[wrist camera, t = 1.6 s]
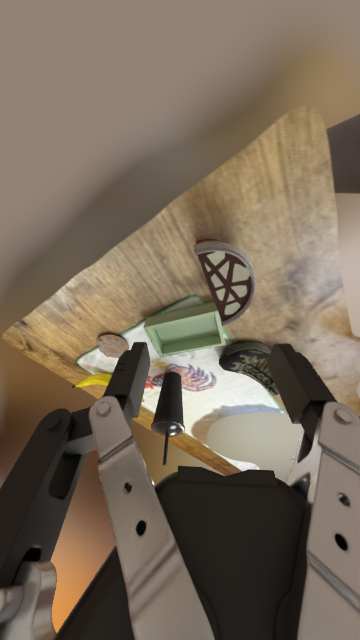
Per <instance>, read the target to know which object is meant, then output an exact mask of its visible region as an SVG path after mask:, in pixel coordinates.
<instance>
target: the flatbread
mask: <svg viewBox="0 0 360 640" xmlns="http://www.w3.org/2000/svg"><path fill="white" fill-rule="evenodd" d="M98 348H99V349H100V351H101V352H102V353H104V354H105V355H106V356H107V357H115V358H120V356H121V355H122V354H123V353H124V352H125V351H126V350H128V349H129V347H128V344H127V342H126V341H125V340H124V339H122V338H121V337H118V336H116V335H111V334H107V335H102V336H100V337H99V339H98Z"/></svg>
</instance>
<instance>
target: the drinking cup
mask: <svg viewBox="0 0 360 640" xmlns="http://www.w3.org/2000/svg"><path fill="white" fill-rule="evenodd" d="M151 429H152V431H154V432H155V433H157V434H159V435H161V436H164V437H165V447H164V457H163V465H166V460H167V450H168V438H169V437H174V436H177V435H180V434H182V433H183V432H184V430H185V426H184V425H183V407H182V388H181V376H180V375H179V374H178V373H175V372H169V373H167V374H165V376H164V380H163V384H162V388H161V392H160V396H159V400H158V404H157V408H156V412H155V416H154V420H153V423H152V424H151Z"/></svg>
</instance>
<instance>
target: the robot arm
mask: <svg viewBox="0 0 360 640" xmlns="http://www.w3.org/2000/svg"><path fill="white" fill-rule="evenodd" d="M149 367H150V357H149V352H148V347H147V343H146V342H134V343H133V346H132V348H131V350H126V351H125V352H124V353H123V354H122V355H121V356H120V358H119V360H118V362H117V365H116V367H115V369H114V372H113V374H112V376H111V379H110V381H109V383H108V386H107V388H106V390H105V393H104V395H103V396H102V398H100V399H98V400H97V401H96V402H95V403H94V404H93V405H92V406H91V407H89V408H86V409H82V410H79V411H76V412H72V413H70V412H69V411H68V410H67V409H57V410H54V411H52V412H50V413H49V414H48V415H46V416H45V417H44V418H43V419H42V420H41V422H40V423H39V425H38V426H37V428H36V430H35V431H34V433H33V435H32V436H31V438H30V440H29V441H28V443H27V445H26V446H25V448H24V450H23V451H22V453H21V455H20V456H19V458H18V460H17V461H16V463H15V465H14V466H13V469H12V470H11V472H10V473H9V475H8V477H7V478H6V480H5V482H4V483H3V485H2V487H1V489H0V640H360V417H359V416H358V415H357V414H356V413H355V412H354V411H353V410H352V409H350V408H349V407H347V406H345V405H343V404H341V403H338V402H337V401H336V399H335V398H334V397H333V395H332V394H331V392H330V391H329V389H328V388H327V387H326V385H325V384H324V382H323V381H322V379H321V378H320V377H319V375H317V372H316V371H315V369H313V366H312V365H311V364H310V362H309V361H308V359H307V358H305V357H304V356H303V355H302V354H300V353H299V352H295V350H294V349H293V347H292V346H291V345H290V344H275V345H274V346H273V349H272V351H271V354H270V356H269V359H268V369H269V371H270V374H271V376H272V378H273V381H274V383H275V385H276V387H277V390H278V392H279V394H280V396H281V399H282V401H283V403H284V405H285V408H286V410H287V412H288V414H289V417H290V419H291V421H292V423H293V424H301V425H302V427H303V430H302V432H301V436H300V440H299V444H298V448H297V452H296V456H295V460H294V463H293V466H292V468H291V470H290V472H289V474H288V476H287V479H286V482H283V481H281V480H279V479H277V478H275V474H274V471H270V470H250V469H249V470H246V471H243V472H240V473H236V474H233V475H230V476H223V475H220V474H218V473H215V472H212V471H210V470H207V469H205V468H202V467H188V466H178V472H175V473H172V474H170V475H168V476H167V477H165V478H164V479H162V480H161V481H160V482H159V483H158V484H157V485H156V486H155V485H154V482H153V480H152V478H151V475H150V473H149V470H148V468H147V466H146V463H145V461H144V459H143V457H142V454H141V452H140V449H139V447H138V445H137V442H136V440H135V438H134V435H133V433H132V431H131V428H130V423H131V419H132V417H133V418H138V415H139V410H140V406H141V402H142V397H143V393H144V389H145V384H146V380H147V376H148V371H149ZM95 449H97V452H98V456H99V462H98V470H99V475H100V479H101V484H102V488H103V492H104V496H105V500H106V504H107V509H108V513H109V517H110V521H111V526H112V530H113V534H114V538H115V542H116V545H115V547H114V548H113V550H112V552H111V553H110V554H109V556H108V557H107V559H106V560H105V562H104V563H103V565H102V566H101V568H100V569H99V571H98V572H97V574H96V575H95V577H94V578H93V580H92V581H91V583H90V584H89V586H88V587H87V589H86V590H85V592H84V593H83V595H82V596H81V598H80V599H79V601H78V602H77V604H76V606H75V607H74V609H73V610H72V611H71V613H70V615H69V616H68V618H67V619H66V620H65V622H64V623H63V625H62V627H61V628H60V630H59V632H58V633H56V632H55V629H54V627H53V623H52V604H53V599H54V594H55V590H56V583H57V575H56V569H55V567H54V565H53V564H52V563H51V562H50V560H51V557H52V554H53V552H54V549H55V546H56V543H57V540H58V537H59V534H60V531H61V528H62V525H63V522H64V519H65V517H66V514H67V511H68V508H69V505H70V502H71V499H72V496H73V493H74V490H75V487H76V485H77V482H78V479H79V476H80V473H81V469H82V467H83V464H84V461H85V458H86V455H87V452H90V451H93V450H95Z"/></svg>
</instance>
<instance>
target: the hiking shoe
mask: <svg viewBox="0 0 360 640" xmlns="http://www.w3.org/2000/svg"><path fill="white" fill-rule="evenodd" d="M270 354H271V350H270V349H268V348H267V347H266V346H265V345H264V344H262V343H258V342H255V341H250V342H241V343H236V344H233V345H231V346H228V347H226V348H225V349H224V350H223V352H222V354H221V356H220V359H219V365H220V366H221V367H222V368H223V369H224V370H227V371H232V372H236V373H241V374H244V375H247V376H249V377H251V378H252V379H254V380H256V381H257V382H259V383H260V384H261V385H263V386H264V387H265V388H266V389H268V390H269V392H270V393H271V394H272V395H278V394H279V392H278V390H277V387H276V385H275V383H274V381H273V378H272V376H271V374H270V371H269V369H268V359H269V356H270Z"/></svg>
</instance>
